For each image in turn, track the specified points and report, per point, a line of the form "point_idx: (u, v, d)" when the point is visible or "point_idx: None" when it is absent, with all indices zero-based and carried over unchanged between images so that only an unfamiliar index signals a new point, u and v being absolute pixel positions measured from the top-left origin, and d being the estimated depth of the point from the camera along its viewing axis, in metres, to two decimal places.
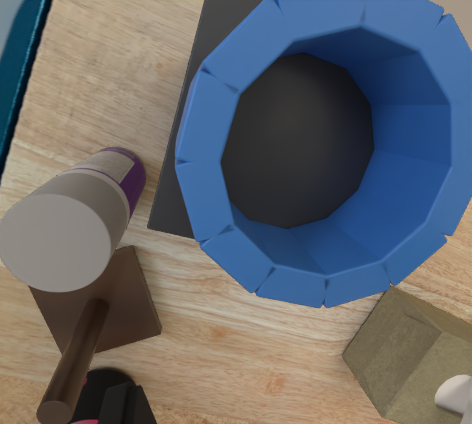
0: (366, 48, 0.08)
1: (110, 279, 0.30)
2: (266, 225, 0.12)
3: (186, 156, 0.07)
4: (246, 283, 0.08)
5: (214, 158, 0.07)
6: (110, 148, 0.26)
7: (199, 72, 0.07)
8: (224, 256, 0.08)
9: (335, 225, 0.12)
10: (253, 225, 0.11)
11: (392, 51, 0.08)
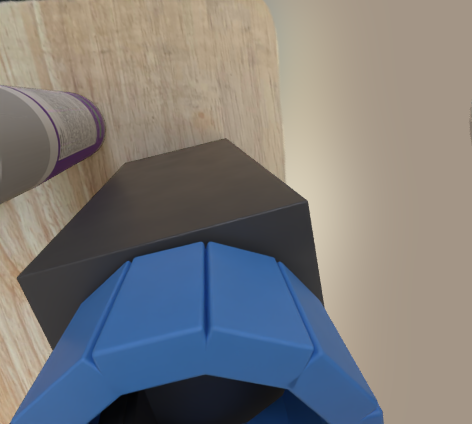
0: None
1: None
2: None
3: (102, 363, 0.06)
4: None
5: (121, 389, 0.06)
6: (94, 109, 0.23)
7: (200, 328, 0.06)
8: None
9: None
10: None
11: None
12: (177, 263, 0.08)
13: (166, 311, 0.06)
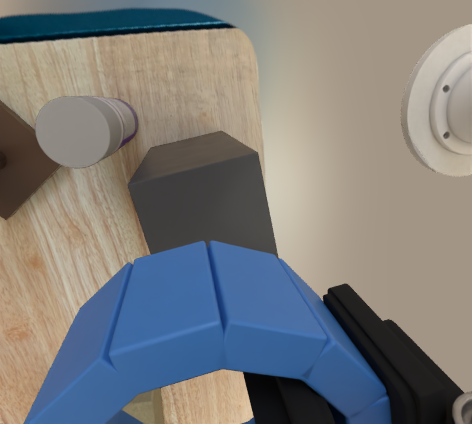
0: (328, 402, 0.08)
1: (30, 157, 0.34)
2: None
3: (119, 363, 0.06)
4: None
5: (138, 389, 0.06)
6: (132, 110, 0.34)
7: (218, 322, 0.06)
8: None
9: None
10: None
11: None
12: (182, 262, 0.08)
13: (180, 308, 0.06)
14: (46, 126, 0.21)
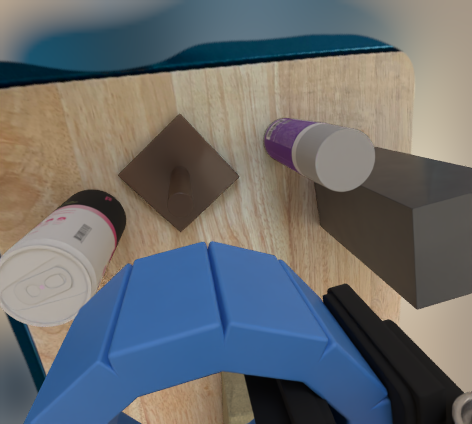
0: (329, 405, 0.08)
1: (210, 174, 0.36)
2: None
3: (118, 365, 0.05)
4: None
5: (137, 391, 0.06)
6: None
7: (218, 324, 0.06)
8: None
9: None
10: None
11: None
12: (182, 263, 0.08)
13: (180, 310, 0.06)
14: (325, 155, 0.23)
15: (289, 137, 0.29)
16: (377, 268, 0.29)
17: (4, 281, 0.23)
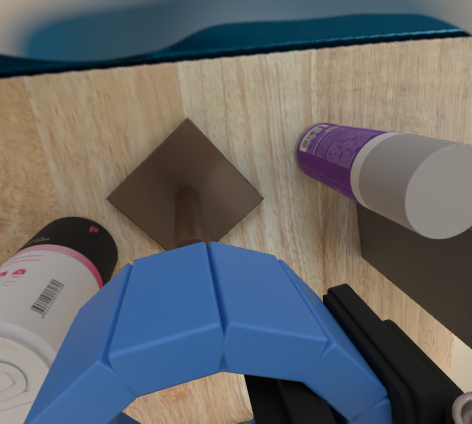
0: (329, 405, 0.08)
1: (226, 196, 0.28)
2: None
3: (118, 365, 0.05)
4: None
5: (137, 391, 0.06)
6: None
7: (218, 324, 0.06)
8: None
9: None
10: None
11: None
12: (182, 263, 0.08)
13: (179, 310, 0.06)
14: (421, 185, 0.15)
15: (343, 151, 0.21)
16: (466, 334, 0.21)
17: None
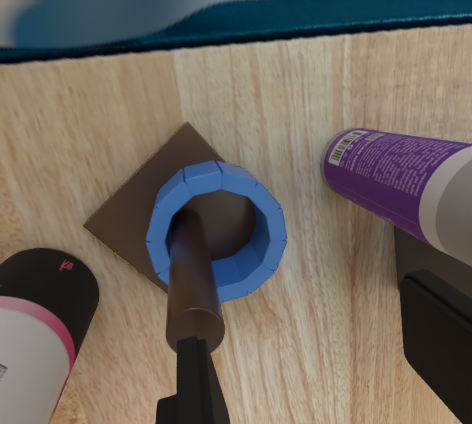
0: (263, 222, 0.20)
1: (236, 220, 0.22)
2: (169, 230, 0.21)
3: (188, 183, 0.17)
4: (149, 235, 0.18)
5: (193, 193, 0.17)
6: None
7: (220, 171, 0.17)
8: (156, 219, 0.18)
9: None
10: None
11: (266, 232, 0.19)
12: (205, 165, 0.20)
13: (206, 171, 0.18)
14: None
15: (403, 170, 0.15)
16: None
17: None
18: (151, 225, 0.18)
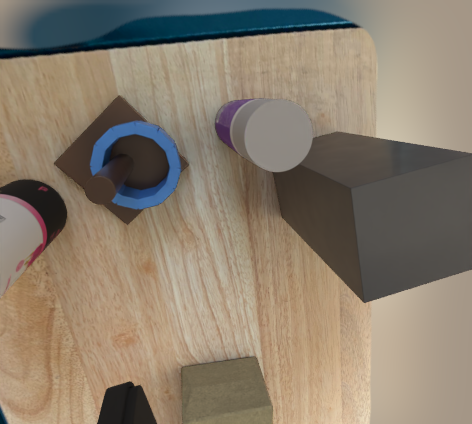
0: None
1: (156, 161, 0.34)
2: None
3: (114, 129, 0.29)
4: (91, 162, 0.29)
5: (117, 136, 0.29)
6: None
7: (133, 122, 0.29)
8: (95, 152, 0.29)
9: (125, 188, 0.33)
10: (108, 162, 0.32)
11: None
12: None
13: (127, 123, 0.29)
14: (255, 130, 0.21)
15: (229, 116, 0.26)
16: (328, 258, 0.27)
17: None
18: (92, 156, 0.29)
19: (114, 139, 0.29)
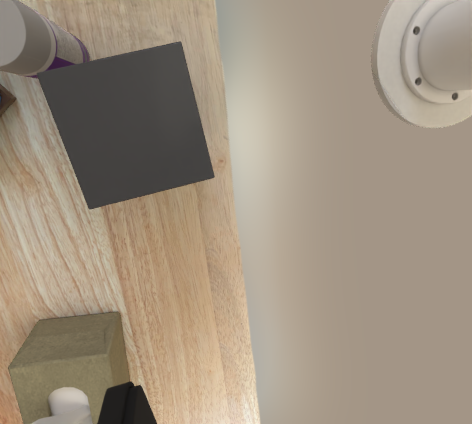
0: None
1: None
2: None
3: None
4: None
5: None
6: (81, 43, 0.33)
7: None
8: None
9: None
10: None
11: None
12: None
13: None
14: None
15: None
16: None
17: None
18: None
19: None
